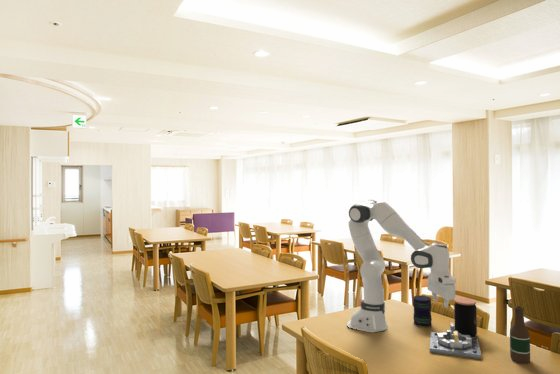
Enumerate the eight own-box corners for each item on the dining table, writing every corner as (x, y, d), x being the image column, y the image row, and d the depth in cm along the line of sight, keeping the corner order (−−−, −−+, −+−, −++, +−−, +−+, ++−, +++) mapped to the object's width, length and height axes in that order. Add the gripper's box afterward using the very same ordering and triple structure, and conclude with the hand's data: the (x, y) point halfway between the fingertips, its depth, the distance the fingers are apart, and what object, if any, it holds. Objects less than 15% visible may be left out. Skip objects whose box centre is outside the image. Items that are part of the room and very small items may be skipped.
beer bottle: (506, 356, 178) (505, 304, 178) (522, 355, 179) (521, 304, 179) (518, 364, 170) (516, 310, 170) (534, 363, 171) (533, 309, 171)
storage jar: (432, 327, 216) (431, 301, 216) (413, 326, 220) (413, 299, 220) (431, 321, 226) (430, 296, 226) (413, 320, 229) (412, 295, 229)
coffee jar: (479, 338, 200) (478, 303, 200) (457, 337, 202) (456, 303, 202) (473, 331, 210) (472, 298, 210) (452, 330, 212) (451, 297, 212)
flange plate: (429, 352, 185) (429, 340, 185) (431, 335, 205) (430, 324, 205) (481, 359, 176) (481, 346, 176) (477, 341, 197) (477, 329, 197)
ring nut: (474, 350, 180) (473, 336, 180) (439, 347, 184) (439, 334, 184) (467, 336, 197) (467, 323, 197) (436, 334, 201) (435, 321, 201)
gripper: (423, 271, 203) (424, 298, 203) (445, 281, 182) (445, 310, 182) (435, 271, 203) (435, 297, 203) (457, 280, 183) (458, 310, 183)
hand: (440, 304), depth 193 cm, fingers open, 8 cm apart
